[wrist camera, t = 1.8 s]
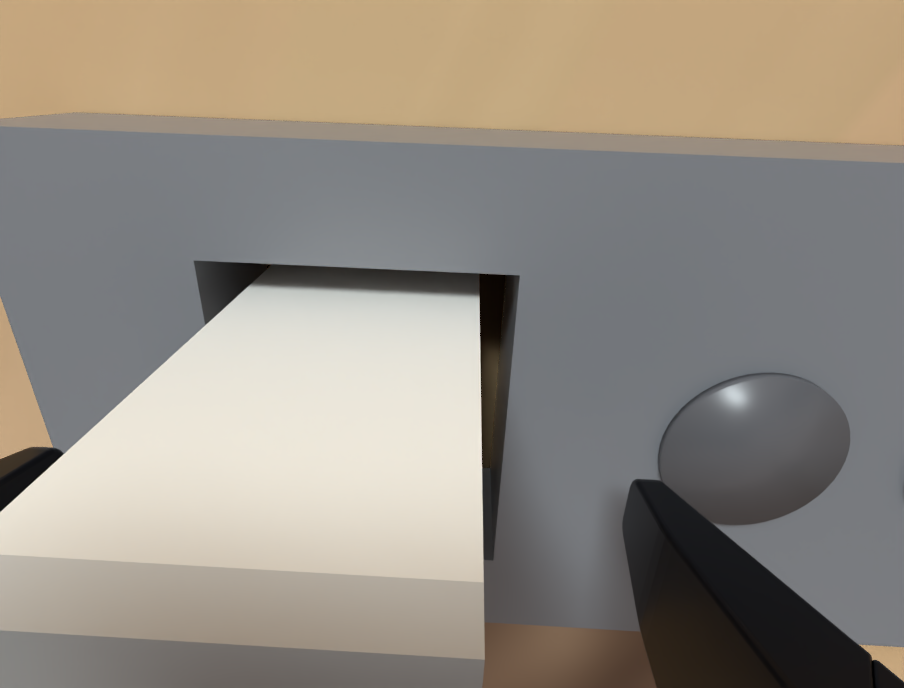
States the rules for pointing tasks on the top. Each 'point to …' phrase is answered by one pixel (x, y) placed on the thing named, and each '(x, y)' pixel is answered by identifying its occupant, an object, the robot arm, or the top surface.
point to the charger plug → (270, 503)
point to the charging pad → (564, 658)
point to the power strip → (525, 319)
